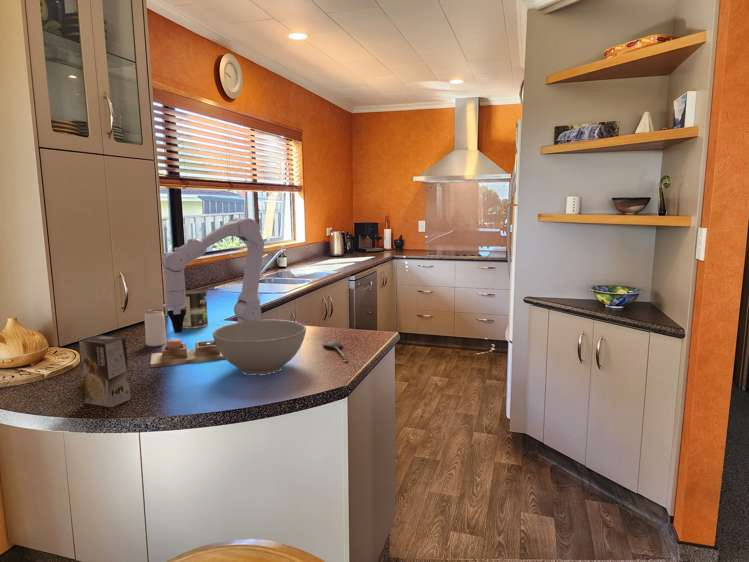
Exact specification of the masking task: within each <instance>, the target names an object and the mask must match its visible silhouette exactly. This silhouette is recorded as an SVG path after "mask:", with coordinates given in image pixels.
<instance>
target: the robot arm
mask: <svg viewBox="0 0 749 562" xmlns="http://www.w3.org/2000/svg"><path fill="white" fill-rule="evenodd" d="M228 237H237V238H238V239H239V240H241V241H242V242H243V244H244V245H245V246H246V247H247V249H246V257H245V264H244V273H243V279H242V287H241V293H240V294H239V295H238V297H237V302H236V303H235V305H234V307H233V313H234V314H235V316H236V318H237V320H236V323H239V322H245V321H254V320H260V318H261V316H262V308H261V300H260V298H259V295H258V292H259V285H260V277H261V270H262V263H263V257H264V256H263V255H264V254H263V253H264V249H265V241H264V238H263V235H262V234H261V226H260V225H259V224H258V222H257V221H256V220H254V219H253V218H249V217H248V218H243V217H236V218H233V219H232V220H230V221H227V222H225V223H224V224H222V225H221V226H219V227H218V228H216V229H214V230H213V231H211V232H210V233H208V234H207V235H205V236H204V237H202V238H201V239H199V238H193V239H192V238H189V239H187V240H186V241H187V242H186V243H184V244H183V245H181V246H179V247H177V246H176V247H174V248H173V250H174V251H168V252H167V253H165V254H164V255H163V257H162V260H161V261H160V262H161V264H162V267H163V268H164V284H165V298H166V301H165V302H166V303H165V304H162V308H166V309H170V310H167V311H166V312H167V313H166V314H167V316H168V317H169V319H170V321H171V325H172V329H173V333H174V334H181V333H182V332H183V329H184V328H183V320H184V317H185V315H186V309H182V308H184V307H186V306H187V303H186V294H185V291H186V279H185V268H186V266H187V265H189V264H190V263H192V262H193V261H195V260H197V259H199V258H200V257H202V256H204V255H205V254H206V251H207V248H209V247H211V246H213V245H214V244H217V243H218V242H220V241H223V240H224V239H226V238H228Z"/></svg>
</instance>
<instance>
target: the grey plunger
mask: <svg viewBox="0 0 749 562" xmlns="http://www.w3.org/2000/svg"><path fill="white" fill-rule="evenodd" d="M206 341H207V342H202V341H201V342H202V343H200V346H210V345H214V342H211V341H212V340H206Z"/></svg>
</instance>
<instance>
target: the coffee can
mask: <svg viewBox="0 0 749 562" xmlns="http://www.w3.org/2000/svg"><path fill="white" fill-rule="evenodd" d="M185 294H186V303H187V306H186V307H184V308H182V309H186V315H185V317H184V320H183V328H182V329H199V328H200V329H201V328H204V327H205V328H206V327H207V326H208V325H209V323H208V322H209V321H208V319H209V318H208V304H207V290H204V289H188V290H185Z"/></svg>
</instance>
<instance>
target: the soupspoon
mask: <svg viewBox="0 0 749 562" xmlns="http://www.w3.org/2000/svg"><path fill="white" fill-rule="evenodd" d="M342 345H343V343H342V342H341V341H336V340H331V341H328V342H325V343H324V344H323V345H322V346H323V347H329V348H334V349H336V351H338V353H339V354H340V355H341V357H342V360H343V359H344V360H348V361H349V359H348V358H346V355H345V354H344V353H343V352H342V350H340V347H341V346H342Z"/></svg>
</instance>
